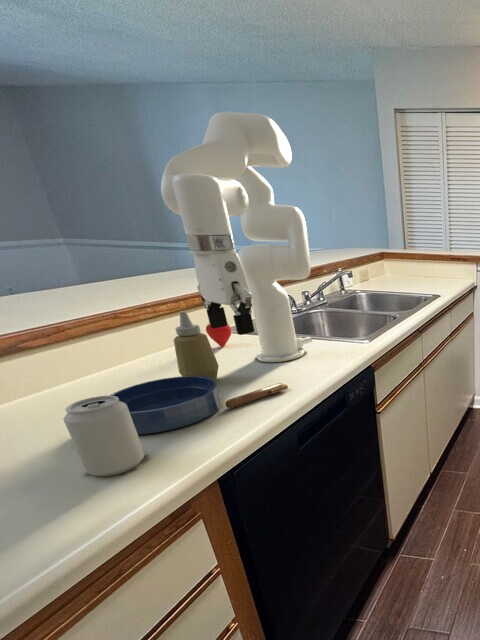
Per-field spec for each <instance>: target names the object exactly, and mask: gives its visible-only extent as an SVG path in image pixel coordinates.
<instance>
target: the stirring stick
mask: <svg viewBox="0 0 480 640" xmlns="http://www.w3.org/2000/svg"><path fill="white" fill-rule="evenodd" d="M287 389H289V386H288V384H285V383H282V382H278V383H274V384H270V385H269V386H265V387H262V388H259V389H256V390H253V391H250V392H248V393H245V394H241V395H238V396H236V397H233V398H230V399H227V400H226V401H225V403H224V406H225V408H227V409H234V408H235V409H236V408H238V407H240V406H243V405H246V404H248V403H251V402H254V401H257V400H259V399H263V398H265V397H268V396H271V395H274V394H276V393H279V392H281V391H284V390H287Z"/></svg>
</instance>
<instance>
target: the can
mask: <svg viewBox="0 0 480 640" xmlns="http://www.w3.org/2000/svg"><path fill="white" fill-rule="evenodd" d="M65 411H66V414H65V415H64V417H63V418H62V419H63V422H64V425H65V427H66V429H67V431H68V433H69V436H70V438H71V440H72V443H73V445H74V447H75V450H76V452H77V454H78V456H79V459H80V461H81V463H82V465H83V468H84V470H85V472H86V473H87V474H89V475H93V476H97V477H110V476H116V475H119V474H122V473H126V472H128V471H130V470H132V469H134V468H135V467H137V466H139V464H140V463H141V461H142V460H143V459H144V458H145V454H146V453H145V451H144V448H143V446H142V442H141V440H140V437H139V434H137V432H136V429H135V426H134V423H133V421H132V418H131V415H130V412H129V410H128V407H127V405H126V404H125V403H123V402H121V401H119V398H118V397H116V396H109V395H99V396H98V395H97V396H91V397H88V398H84V399H80V400H77V401H75V402H73V403H70V404H69V405H68V406H66V408H65Z"/></svg>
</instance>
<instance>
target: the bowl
mask: <svg viewBox="0 0 480 640" xmlns="http://www.w3.org/2000/svg"><path fill="white" fill-rule="evenodd" d="M108 396H116V397H118V398H119V401H121V402H123V403H125V404H126V405H127V407H128V410H129V412H130V415H131V418H132V421H133V423H134V426H135V429H136V432H137V434H138V435H149V434H157V433H162V432H163V433H164V432H168V431H172V430H176V429H180V428H184V427H186V426H187V427H188V426H189V425H192V424H194V423H197V422H199V421H202V420H203V419H206V418H208V417H210V416H211V415H213V414H215V413H216V412H217V411H219V409H220V408H222V406H223V397H222V394H221V390H220V386H219V383H218V381H217V380H216V381H215V380H214V379H212V378H209V377H202V376H182V375H181V376H173V377H166V378H160V379H154V380H149V381H144V382H141V383H137V384H134V385H131V386H128V387H125V388H122V389H119V390H117V391H115V392H113V393H111V394H108Z"/></svg>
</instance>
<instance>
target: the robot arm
mask: <svg viewBox="0 0 480 640" xmlns="http://www.w3.org/2000/svg"><path fill="white" fill-rule="evenodd" d="M291 162H292V148H291V145H290V143H289V140H288V139H287V137H286V135H285V134H284V132H283V131H282V130H281V128H280V127H279V125H278V124H277V123H276V122H275V121H274V120H273V119H272V118H270V117H269V116H267V115H265V114H260V113H250V112H235V111H220V112H217V113H214V114H213V115H212V116H211V117H210V119H209V121H208V124H207V127H206V131H205V134H204V137H203V140H202V143H200V144H197V145H195V146H192V147H191V148H188V149H186V150H185V151H182V152H180V153H178V154H176V155H175V156H173V157H171V159H169V161H168V162H167V163H166V165H165V168H164V171H163V173H162V175H161V181H160V194H161V198H162V200H163V202H164V204H165V206H166V207H167V208H168V210H169V211H171V212H173V213H174V214H176V215H178V216H180V218H181V222H182V226H183V230H184V233H185V237H186V241H187V246H188V248H189V253H190V254H192V255H193V262H194V263H193V264H194V270H195V274H196V280H197V283H198V284H197V291H198V292H199V295H200V299H201V301H202V302H203V307H204V309H205V310H206V314H207V318H208V323H209V324H210V326H211V328H219V327H224V326H227V325H229V324H228V319H227V316H226V311H225V308H224V306H222V305H225V306H229V307H230V308H231V311H233V313H234V315H232V316H233V321H234V326H235V330H236V334H237V335H238V336H243V335H246V334H252V333H254V332H255V327H256V331H257V334H258V335H257V336H258V341H259V344H260V349H261V351H258V353H256V359H257V361H260V362H263V363H283V362H287V361H292V360H295V359H298V358H301V357H303V356H304V355H305V353H306V352H305V349H304V348H303V346H304V345H308V344H312V342H313V339H312V337H310V336H308V337H307V336H306V337H303V338H302V337H297V335H296V330H295V325H294V324H295V323H294V319H293V313H292V308H291V303H290V297H289V295H288V292H287V291H286V290H285V289H284V288H283V287H282V286H281V285H280V284H279V283H278V281H301V280H306V279H308V278H309V277H310V275H311V257H310V246H309V238H308V230H307V223H306V219H305V216H304V214H303V212H302V210H301V209H299V207H297V206H294V205H290V204H275V198H274V191H273V187H272V186H271V184H270V183H269V182H268V181H267V180H266V179H265V178H264V177H263V176H262V175H261V174H260V173H259V172H258V171H256V170H255V169H254V168H253V167H255V168H257V167H258V168H276V169H282V168H283V169H284V168H288V167H289V165H290V164H291ZM233 217H239V221H240V227H241V231H242V234H243V235H244V236H245V237H246V238H247V239H249V240H250V241H254V242H287V243H289V244H273V243H272V244H271V243H269V244H262V243H261V244H258V243H257V244H248V245H245V246H243V247H241V248H240V249H239V250H238V252H237V248H236V245H235V240H234V236H233V231H232V226H231V221H230V218H233ZM252 313H253V317H252ZM253 319H254V321H253ZM254 322H255V325H256V326H254Z"/></svg>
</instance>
